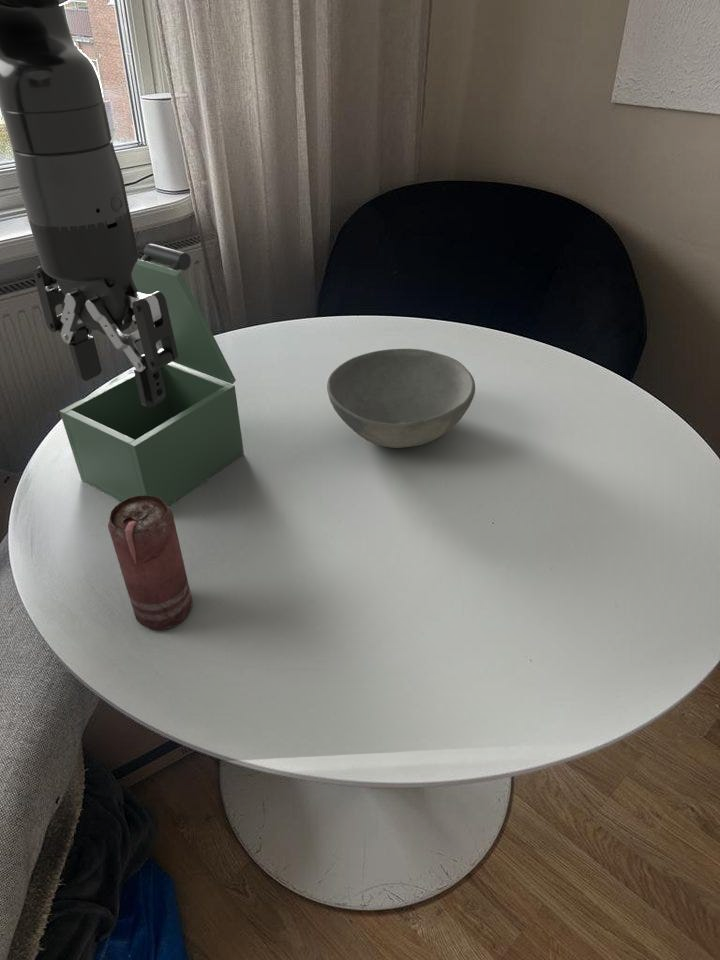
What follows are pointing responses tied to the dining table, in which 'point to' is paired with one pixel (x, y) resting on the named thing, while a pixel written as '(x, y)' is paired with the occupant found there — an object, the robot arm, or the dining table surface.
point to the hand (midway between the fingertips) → (121, 389)
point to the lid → (181, 311)
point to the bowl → (401, 395)
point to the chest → (155, 435)
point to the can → (151, 561)
